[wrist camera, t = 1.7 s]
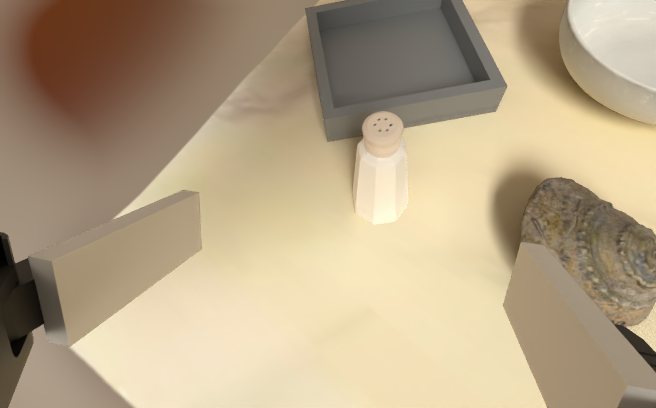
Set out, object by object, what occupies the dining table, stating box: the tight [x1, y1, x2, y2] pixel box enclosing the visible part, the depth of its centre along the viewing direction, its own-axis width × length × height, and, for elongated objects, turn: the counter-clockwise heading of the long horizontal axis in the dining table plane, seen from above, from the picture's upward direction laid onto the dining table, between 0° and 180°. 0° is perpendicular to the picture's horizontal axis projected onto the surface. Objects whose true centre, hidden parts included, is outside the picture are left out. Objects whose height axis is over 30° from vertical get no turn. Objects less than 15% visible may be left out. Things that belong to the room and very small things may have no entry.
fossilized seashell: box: [521, 177, 656, 327], centre depth 27 cm, size 11×10×7 cm
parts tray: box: [305, 0, 507, 141], centre depth 39 cm, size 18×18×4 cm
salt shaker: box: [352, 111, 408, 224], centre depth 28 cm, size 5×5×11 cm
